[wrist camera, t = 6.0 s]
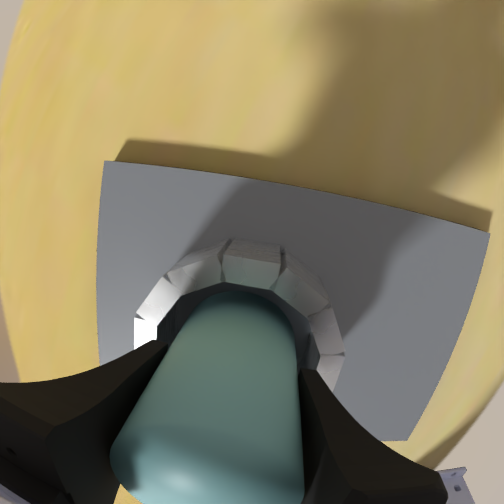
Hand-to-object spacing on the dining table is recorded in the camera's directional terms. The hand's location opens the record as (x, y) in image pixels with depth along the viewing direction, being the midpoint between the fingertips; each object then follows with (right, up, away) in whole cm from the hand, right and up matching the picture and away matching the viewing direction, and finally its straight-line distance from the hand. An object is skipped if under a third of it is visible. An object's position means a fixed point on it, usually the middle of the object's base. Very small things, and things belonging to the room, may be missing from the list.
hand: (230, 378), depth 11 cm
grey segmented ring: (0, +1, +4) cm, 4 cm away
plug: (0, +1, +3) cm, 3 cm away
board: (+2, +1, +5) cm, 6 cm away
